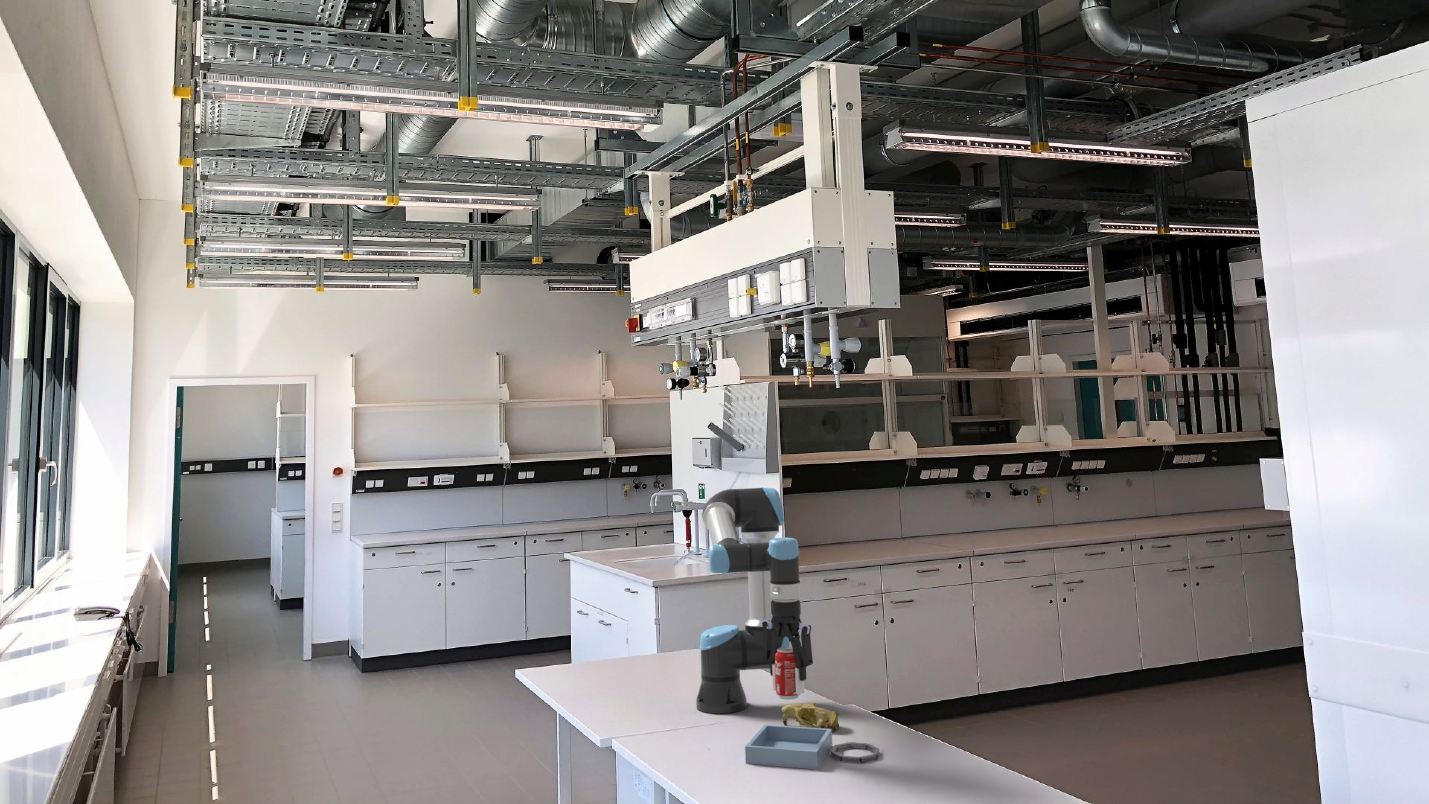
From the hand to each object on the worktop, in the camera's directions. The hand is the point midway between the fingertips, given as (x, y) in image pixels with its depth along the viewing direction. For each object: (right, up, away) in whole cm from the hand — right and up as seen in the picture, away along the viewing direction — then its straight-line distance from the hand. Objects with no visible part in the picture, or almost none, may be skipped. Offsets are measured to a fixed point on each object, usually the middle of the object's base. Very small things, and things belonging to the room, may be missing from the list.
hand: (788, 691), depth 235 cm
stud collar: (+16, -15, -3) cm, 22 cm away
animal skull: (+8, -17, +20) cm, 27 cm away
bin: (0, -16, -1) cm, 16 cm away
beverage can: (0, -2, 0) cm, 2 cm away
